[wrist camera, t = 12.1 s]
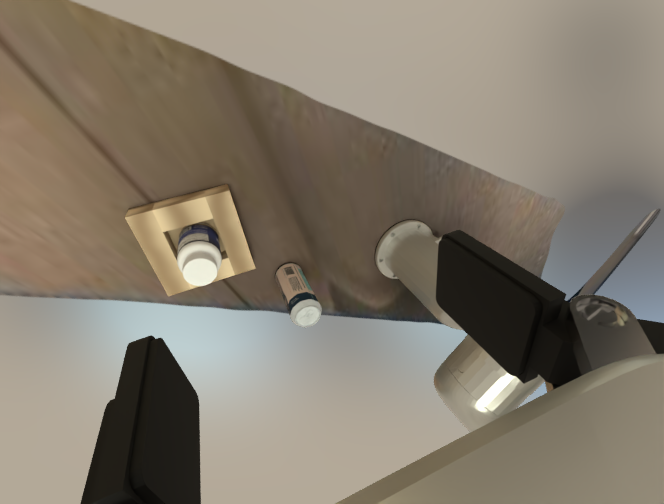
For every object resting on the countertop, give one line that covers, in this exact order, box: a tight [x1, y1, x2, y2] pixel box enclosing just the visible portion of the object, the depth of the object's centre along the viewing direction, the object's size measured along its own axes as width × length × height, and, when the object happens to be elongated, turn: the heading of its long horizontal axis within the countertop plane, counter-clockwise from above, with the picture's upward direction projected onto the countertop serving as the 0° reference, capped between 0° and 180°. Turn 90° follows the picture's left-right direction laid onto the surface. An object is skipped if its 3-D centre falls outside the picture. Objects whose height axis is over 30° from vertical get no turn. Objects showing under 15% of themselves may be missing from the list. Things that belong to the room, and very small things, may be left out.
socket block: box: [125, 184, 255, 296], centre depth 46 cm, size 13×13×3 cm
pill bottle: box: [177, 223, 222, 286], centre depth 43 cm, size 5×5×10 cm
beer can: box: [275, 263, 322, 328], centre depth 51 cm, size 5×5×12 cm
